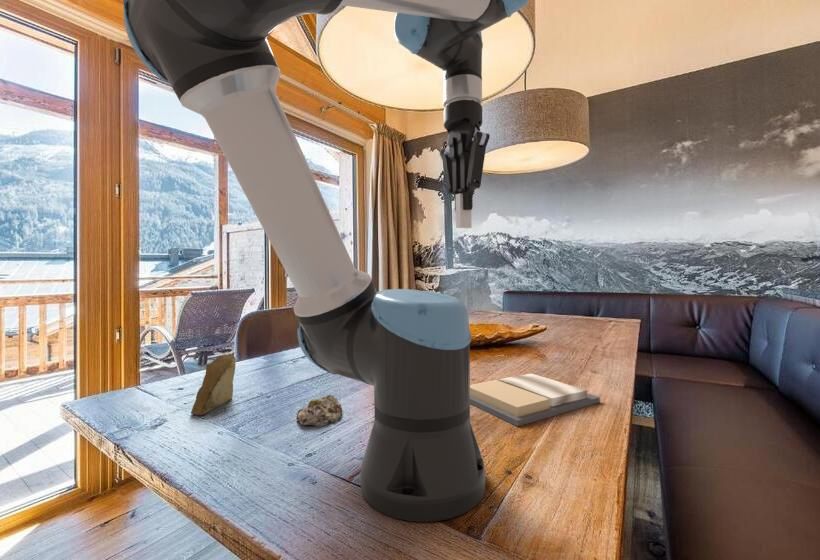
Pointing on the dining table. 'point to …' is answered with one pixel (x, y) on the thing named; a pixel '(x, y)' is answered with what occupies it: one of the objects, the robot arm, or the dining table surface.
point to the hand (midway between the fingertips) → (463, 227)
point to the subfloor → (519, 402)
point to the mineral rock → (320, 411)
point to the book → (547, 388)
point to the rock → (215, 385)
